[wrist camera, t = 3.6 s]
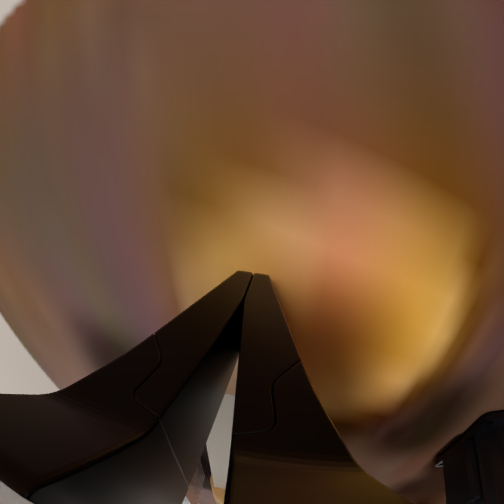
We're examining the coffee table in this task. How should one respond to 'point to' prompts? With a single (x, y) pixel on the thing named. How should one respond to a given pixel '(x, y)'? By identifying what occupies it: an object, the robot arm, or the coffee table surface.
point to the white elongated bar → (222, 441)
